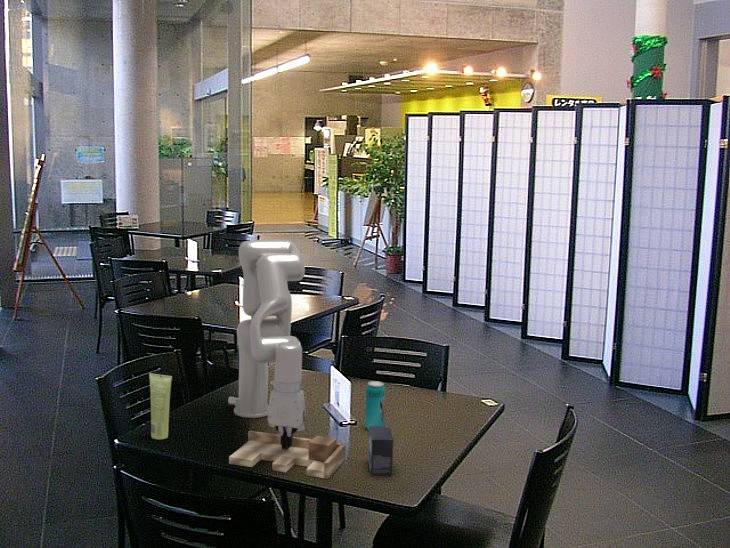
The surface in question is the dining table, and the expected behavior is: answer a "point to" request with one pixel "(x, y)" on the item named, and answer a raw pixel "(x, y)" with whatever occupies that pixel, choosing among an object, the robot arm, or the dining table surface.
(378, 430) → the small box
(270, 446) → the trap tray
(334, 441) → the walnut block
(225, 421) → the dining table surface
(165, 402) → the tube
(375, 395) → the beverage can
